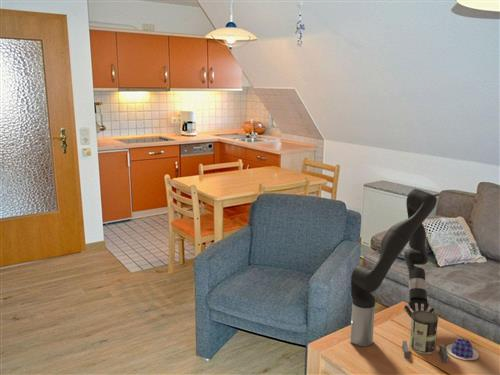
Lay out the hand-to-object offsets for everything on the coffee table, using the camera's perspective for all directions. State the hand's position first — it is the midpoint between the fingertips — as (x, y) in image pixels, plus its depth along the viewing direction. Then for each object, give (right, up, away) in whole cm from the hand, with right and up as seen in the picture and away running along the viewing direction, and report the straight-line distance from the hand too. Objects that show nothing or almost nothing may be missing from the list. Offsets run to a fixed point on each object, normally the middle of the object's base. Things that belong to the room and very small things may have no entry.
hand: (419, 328), depth 191 cm
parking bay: (-3, -7, -12) cm, 14 cm away
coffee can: (-1, -6, -6) cm, 8 cm away
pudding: (+14, -7, -10) cm, 18 cm away
